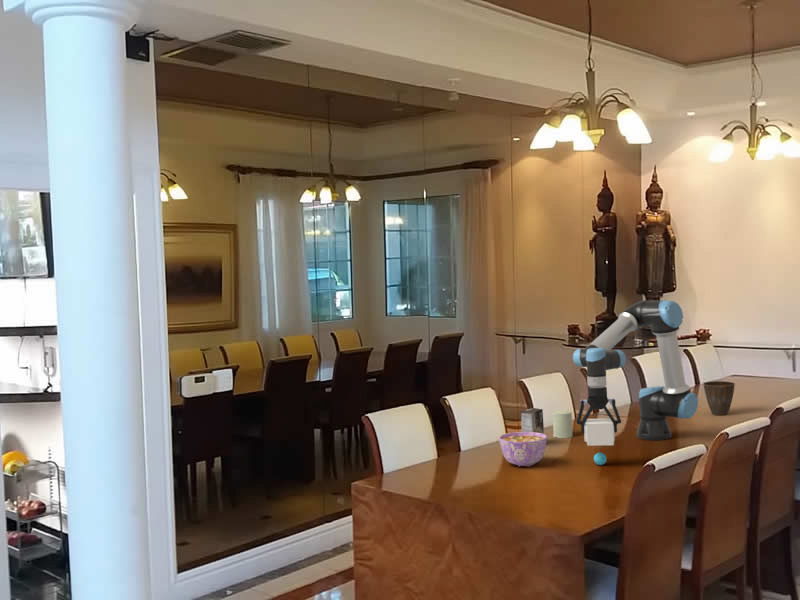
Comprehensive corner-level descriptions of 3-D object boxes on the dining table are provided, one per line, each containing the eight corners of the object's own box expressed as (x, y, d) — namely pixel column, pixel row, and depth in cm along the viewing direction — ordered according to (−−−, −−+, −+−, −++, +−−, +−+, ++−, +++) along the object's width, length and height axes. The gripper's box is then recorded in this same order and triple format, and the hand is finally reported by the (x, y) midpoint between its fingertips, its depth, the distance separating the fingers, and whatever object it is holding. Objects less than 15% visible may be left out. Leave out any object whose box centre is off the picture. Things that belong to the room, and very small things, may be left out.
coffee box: (533, 441, 376) (531, 407, 375) (545, 443, 372) (543, 408, 371) (521, 445, 370) (519, 410, 369) (533, 447, 365) (531, 412, 364)
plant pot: (738, 412, 417) (737, 381, 416) (732, 417, 404) (731, 386, 403) (708, 411, 425) (706, 380, 424) (701, 416, 412) (700, 385, 411)
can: (573, 438, 380) (571, 412, 379) (553, 438, 382) (551, 413, 381) (572, 433, 389) (571, 409, 388) (553, 434, 391) (552, 409, 390)
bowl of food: (518, 473, 322) (517, 444, 322) (490, 463, 340) (489, 436, 340) (558, 464, 332) (556, 437, 331) (529, 456, 349) (527, 429, 349)
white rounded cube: (611, 439, 331) (610, 418, 331) (613, 445, 321) (612, 423, 321) (585, 440, 333) (584, 419, 333) (587, 445, 323) (586, 423, 323)
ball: (606, 457, 324) (606, 467, 326) (606, 450, 328) (606, 459, 330) (593, 457, 325) (594, 467, 327) (593, 449, 329) (593, 459, 331)
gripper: (568, 388, 325) (571, 443, 325) (627, 387, 321) (629, 442, 322) (568, 385, 332) (570, 439, 333) (625, 384, 328) (627, 438, 329)
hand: (599, 440), depth 327 cm, fingers closed on white rounded cube, 10 cm apart
